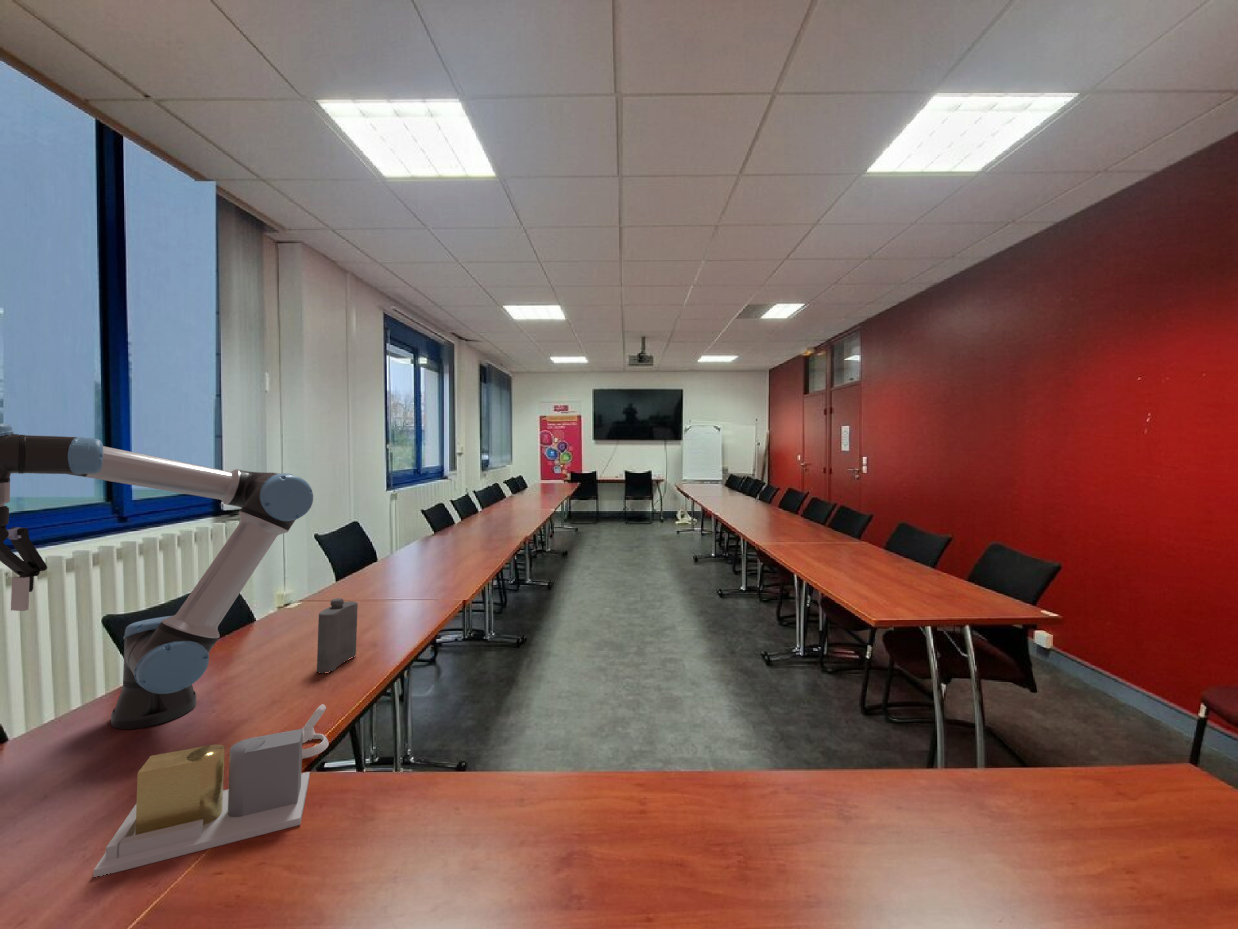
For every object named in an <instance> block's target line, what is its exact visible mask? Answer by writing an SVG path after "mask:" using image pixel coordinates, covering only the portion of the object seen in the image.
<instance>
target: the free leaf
mask: <svg viewBox="0 0 1238 929" xmlns="http://www.w3.org/2000/svg"><path fill="white" fill-rule="evenodd" d="M224 771H225V745H223V744H209V745H205V746H198V747H192V748H188V749H187V748H186V749H182V750H175V751H169V752H165V753H159V754H155V755H154V754H153V755H150V756H149V758H148V759H147V760H146V761H145V763H144V764H143V765H142V766H141V768H140V769H139V770H138V772H137V777H136V778H137V780H136V803H137V805H136V804H135V805H136V832H135V835H138V834H142V833H147V832H151V831H155V830H159V829H164V828H168V827H172V826H176V825H180V824H185V823H189V822H193V821H197V820H202V819H203V825H205V824H208V823H210V822H212V821H213V820H215V819H216V818H218V817H219V816H220V815H221V813H222V806H223V790H224V773H225V772H224Z"/></svg>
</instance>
